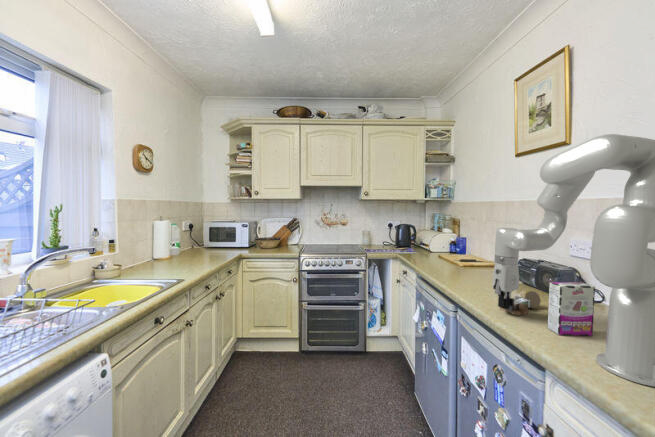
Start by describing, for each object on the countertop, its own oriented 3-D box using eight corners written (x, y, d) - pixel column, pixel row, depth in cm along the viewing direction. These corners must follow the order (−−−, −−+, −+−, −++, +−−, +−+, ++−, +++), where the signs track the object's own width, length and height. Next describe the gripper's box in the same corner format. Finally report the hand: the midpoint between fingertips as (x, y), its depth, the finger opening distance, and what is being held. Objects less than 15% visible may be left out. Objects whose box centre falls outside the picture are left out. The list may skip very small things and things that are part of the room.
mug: (520, 300, 117) (534, 284, 112) (532, 318, 109) (548, 302, 104) (504, 296, 117) (517, 280, 112) (515, 313, 109) (530, 297, 104)
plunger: (513, 312, 100) (514, 299, 100) (500, 307, 105) (500, 295, 104) (529, 307, 105) (530, 295, 105) (515, 303, 110) (516, 291, 109)
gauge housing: (519, 315, 100) (519, 306, 100) (499, 309, 106) (500, 300, 106) (528, 313, 103) (528, 304, 103) (508, 306, 109) (508, 298, 109)
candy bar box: (578, 329, 90) (581, 281, 89) (593, 336, 85) (596, 286, 84) (545, 328, 90) (548, 281, 89) (558, 335, 85) (561, 285, 84)
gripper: (505, 264, 93) (502, 315, 94) (527, 260, 100) (524, 307, 101) (484, 260, 100) (482, 307, 101) (506, 257, 107) (504, 301, 108)
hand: (503, 307), depth 101 cm, fingers closed
